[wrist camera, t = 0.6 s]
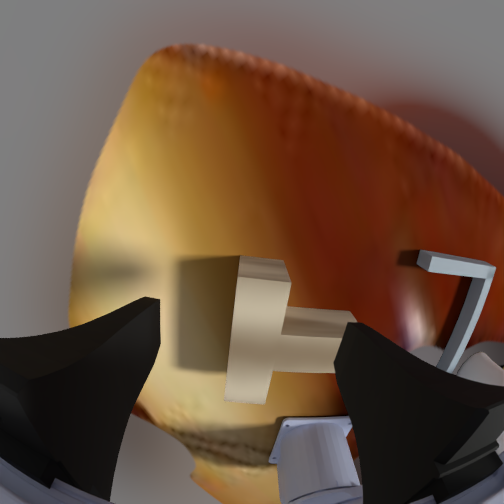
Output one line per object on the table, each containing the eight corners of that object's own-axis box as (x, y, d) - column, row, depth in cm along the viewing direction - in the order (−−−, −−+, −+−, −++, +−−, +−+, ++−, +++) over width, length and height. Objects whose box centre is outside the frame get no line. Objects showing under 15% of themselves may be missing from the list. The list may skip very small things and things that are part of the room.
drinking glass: (456, 395, 25) (507, 470, 10) (442, 377, 24) (504, 466, 9) (491, 358, 23) (550, 424, 9) (481, 335, 22) (556, 410, 8)
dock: (434, 381, 24) (441, 390, 22) (369, 389, 23) (374, 401, 21) (484, 261, 20) (495, 267, 18) (420, 249, 19) (432, 256, 17)
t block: (329, 373, 22) (340, 404, 19) (227, 367, 22) (224, 400, 18) (361, 269, 20) (383, 291, 16) (240, 255, 19) (237, 276, 15)
